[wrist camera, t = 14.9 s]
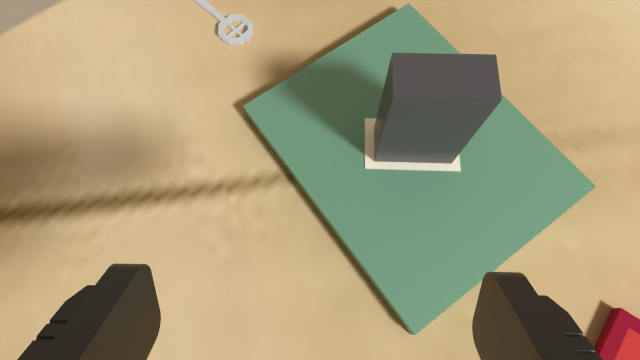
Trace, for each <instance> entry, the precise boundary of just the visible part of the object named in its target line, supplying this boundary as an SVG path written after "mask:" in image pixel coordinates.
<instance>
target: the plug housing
mask: <svg viewBox="0 0 640 360" xmlns="http://www.w3.org/2000/svg"><path fill="white" fill-rule="evenodd" d="M501 100H502V97H501V89H500V82H499V74H498V66H497V59H496V55H486V54H438V53H392V55H391V59H390V64H389V68H388V72H387V76H386V80H385V84H384V88H383V93H382V97H381V101H380V105H379V109H378V113H377V117H376V122H375V126H374V161H376V162H411V163H445V164H452V162H453V161H454V160H455V159H456V157H457V156H458V155H459V154H460V152H461V151H462V150H463V149H464V147H465V146H466V145H467V143H468V142H469V141H470V140H471V138H472V137H473V136H474V135H475V133H476V132H477V131H478V130H479V128H480V127H481V126H482V124H483V123H484V122H485V121H486V119H487V118H488V117H489V116H490V114H491V113H492V112H493V111H494V109H495V108H496V107H497V105H498V104H499V103H500V102H501Z"/></svg>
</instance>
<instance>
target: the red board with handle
mask: <svg viewBox="0 0 640 360" xmlns="http://www.w3.org/2000/svg"><path fill="white" fill-rule="evenodd" d="M594 349H595V353H596V354H599V356H600V357H601V358H602V360H640V320H639V319H638V318H636V317H635V316H633V315H631V314H630V313H628V312H627V311H625V310H623V309H622V308H613V309H612V311H611V313H610V315H609V317H608V320H607V322H606V324H605V326H604V328H603V330H602V333H601V335H600V337H599V339H598V341H597V343H596V345H595V348H594Z"/></svg>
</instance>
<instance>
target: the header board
mask: <svg viewBox="0 0 640 360" xmlns="http://www.w3.org/2000/svg"><path fill="white" fill-rule="evenodd" d="M392 53H438V54H460V53H459V52H458V51H457V50H456V49H455V48H454V47H453V46H452V45H451V44H450V43H449V42H448V41H447V40H446V39H445V38H444V37H443V36H442V35H441V34H440V33H439V32H438V31H437V30H436V29H434V28H433V27H432V26H431V25H430V24H429V23H428V22H427V21H426V20H425V19H424V18H423V17H422V16H421V15H420V14H419V13H418V12H417V11H416V10H415V9H414V8H413V7H412V6H411V5H410V4H409V3H408V4H407V5H405V6H403V7H402V8H400V9H399V10H397V11H395V12H394V13H392V14H390V15H389V16H387V17H386V18H384V19H382V20H381V21H379V22H378V23H376V24H374V25H373V26H371V27H369V28H368V29H366V30H365V31H363V32H361V33H360V34H358V35H357V36H355V37H353V38H352V39H350V40H348V41H347V42H345V43H344V44H342V45H340V46H339V47H337V48H336V49H334V50H332V51H331V52H329V53H327V54H326V55H324V56H323V57H321V58H319V59H318V60H316V61H315V62H313V63H311V64H310V65H308V66H307V67H305V68H303V69H302V70H300V71H298V72H297V73H295V74H294V75H292V76H290V77H289V78H287V79H286V80H284V81H282V82H281V83H279V84H277V85H276V86H274V87H273V88H271V89H269V90H268V91H266V92H265V93H263V94H261V95H260V96H258V97H256V98H255V99H253V100H252V101H250V102H248V103H247V104H245V105H244V106H243V108H244V110H245V113H246V115H247V116H248V118H249V119H250V120H251V122H252V123H253V124H254V126H255V127H256V128H257V130H258V131H259V132H260V134H261V135H262V136H263V138H264V139H265V140H266V142H267V143H268V144H269V146H270V147H271V148H272V150H273V151H274V152H275V154H276V155H277V156H278V158H279V159H280V160H281V162H282V163H283V164H284V166H285V167H286V168H287V170H288V171H289V172H290V174H291V175H292V176H293V178H294V179H295V180H296V182H297V183H298V184H299V186H300V187H301V188H302V190H303V191H304V192H305V194H306V195H307V196H308V198H309V199H310V200H311V202H312V203H313V204H314V206H315V207H316V208H317V210H318V211H319V212H320V214H321V215H322V216H323V218H324V219H325V220H326V222H327V223H328V225H329V226H330V227H331V229H332V230H333V231H334V233H335V234H336V235H337V237H338V238H339V239H340V241H341V242H342V243H343V245H344V246H345V247H346V249H347V250H348V251H349V253H350V254H351V255H352V257H353V258H354V259H355V261H356V262H357V263H358V265H359V266H360V267H361V269H362V270H363V271H364V273H365V274H366V275H367V277H368V278H369V279H370V281H371V282H372V283H373V285H374V286H375V287H376V289H377V290H378V291H379V293H380V294H381V295H382V297H383V298H384V299H385V301H386V302H387V303H388V305H389V306H390V307H391V309H392V310H393V311H394V313H395V314H396V315H397V317H398V318H399V319H400V321H401V322H402V323H403V325H404V326H405V327H406V329H407V330H408V331H409V333H410V334H412V335H416V334H417V333H418V332H419V331H420V330H422V329H423V328H424V327H425V326H427V325H428V324H429V323H430V322H431V321H433V320H434V319H435V318H436V317H438V316H439V315H440V314H441V313H442V312H444V311H445V310H446V309H447V308H449V307H450V306H451V305H452V304H453V303H455V302H456V301H457V300H458V299H459V298H461V297H462V296H463V295H464V294H466V293H467V292H468V291H469V290H470V289H472V288H473V287H474V286H475V285H477V284H478V283H479V282H480V281H481V280H483V278H484V275H485V274H486V273H487V272H492V271H494V270H495V269H496V268H497V267H498V266H500V265H501V264H502V263H503V262H505V261H506V260H507V259H508V258H509V257H511V256H512V255H513V254H514V253H516V252H517V251H518V250H519V249H520V248H522V247H523V246H524V245H525V244H527V243H528V242H529V241H530V240H531V239H533V238H534V237H535V236H536V235H537V234H539V233H540V232H541V231H542V230H544V229H545V228H546V227H547V226H548V225H550V224H551V223H552V222H553V221H555V220H556V219H557V218H558V217H559V216H561V215H562V214H563V213H564V212H566V211H567V210H568V209H569V208H570V207H572V206H573V205H574V204H575V203H576V202H578V201H579V200H580V199H581V198H583V197H584V196H585V195H586V194H587V193H589V192H590V191H591V190H592V189H594V188H595V187H596V186H595V185H594V184H593V183H592V182H591V181H590V180H589V179H588V178H587V177H586V176H585V175H584V174H583V173H582V172H581V171H580V170H579V169H577V168H576V167H575V166H574V165H573V164H572V163H571V162H570V161H569V160H568V159H567V158H566V157H565V156H564V155H563V154H562V153H561V152H560V151H559V150H558V149H557V148H556V147H555V146H554V145H553V144H552V143H551V142H550V141H549V140H548V139H547V138H546V137H545V136H544V135H543V134H542V133H541V132H540V131H539V130H538V129H537V128H536V127H535V126H534V125H533V124H532V123H531V122H529V121H528V120H527V119H526V118H525V117H524V116H523V115H522V114H521V113H520V112H519V111H518V110H517V109H516V108H515V107H514V106H513V105H512V104H511V103H510V102H509V101H508V100H507V99H506V98H505V97H504V96H503V95H502V94H501V97H502V100H501V102H500V103H499V104H498V105H497V107H496V108H495V109H494V111H493V112H492V113H491V114H490V116H489V117H488V118H487V119H486V121H485V122H484V123H483V124H482V126H481V127H480V128H479V130H478V131H477V132H476V133H475V135H474V136H473V137H472V138H471V140H470V141H469V142H468V143H467V145H466V146H465V147H464V149H463V150H462V151H461V152H460V154H459V155H458V156H457V157H456V159H455V160H454V161H453V162H452V164H445V163H411V162H376V161H374V126H375V122H376V117H377V113H378V109H379V105H380V101H381V97H382V93H383V88H384V84H385V80H386V76H387V72H388V68H389V64H390V59H391V55H392Z"/></svg>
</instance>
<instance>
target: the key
mask: <svg viewBox="0 0 640 360" xmlns="http://www.w3.org/2000/svg"><path fill="white" fill-rule="evenodd" d="M194 1H195V2H197V3H198V4H199V5H200V6H202V7H203V8H204V9H205V10H207V11H208V12H209V13H211V14H212V15H213V16H214V17H215V18H216V19H218V20H219V21H221V22H220V23H219V25H218V35H219V37H220V38H221V39H222V40H223V41H225V42H226V43H227V44H228V45H230V46H236V45H242V44H243V43H244V42H247V43H249V42H250V39H249V38H251V37H252V36H253V25H252V22H250V21H249V20H248V19H247V18H245V17H244V16H243V15H242V14H230V15H229V16H228V17H226V18H225V17H224V16H222V15H221V13H219V12H218V11H217V10H216V9H214V8H213V7H212V6H211V5H210V4H209V3H208V2H206V1H205V0H194ZM233 21H242V22H243V23H242V24H240V25H239V26H238V27H236V28H235V27H234V26H232V25H231V24H230V23H231V22H233ZM245 25H246V26H248V30H247V31H246V32H244V33H243V34H242V33H241V32H240V31H238V30H240V29H241V28H242V27H243V26H245ZM226 26H229V27H230V28H231V29H232V30H233V31H231V32H230V33H229V34H228V35H226V34H225V33H223V29H224V28H225V27H226ZM235 33H237V34H238V35H240V36H239V37H233V38H230V37H231V36H232V35H233V34H235Z"/></svg>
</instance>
